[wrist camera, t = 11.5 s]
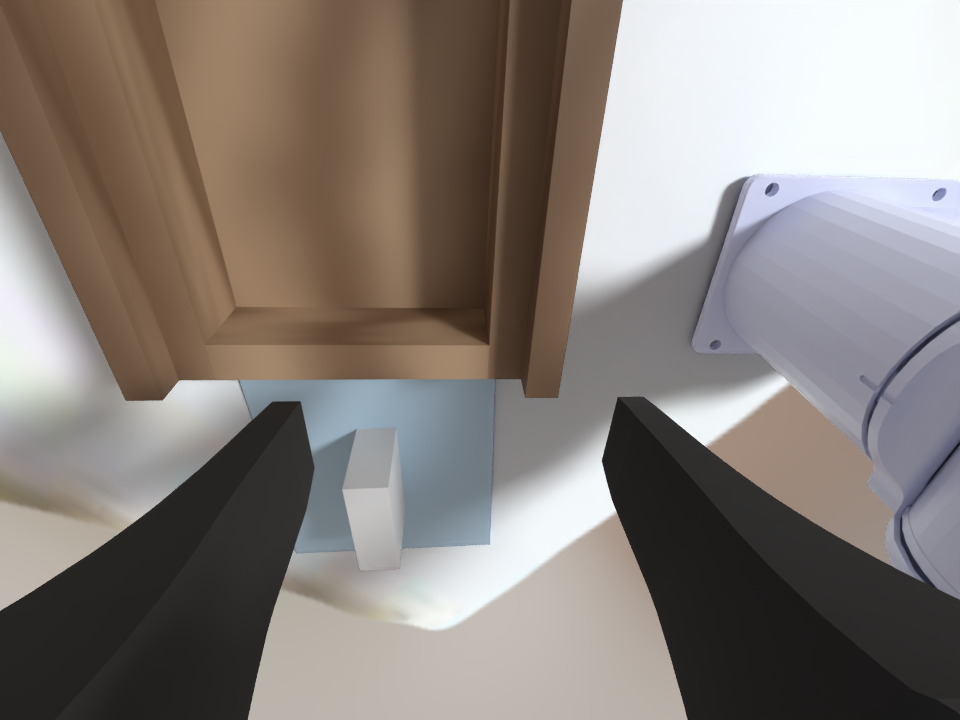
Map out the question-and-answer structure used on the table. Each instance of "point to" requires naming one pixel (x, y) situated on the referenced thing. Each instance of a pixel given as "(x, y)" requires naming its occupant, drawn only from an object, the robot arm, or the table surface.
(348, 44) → the walnut box
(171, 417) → the table surface
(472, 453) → the cover plate
